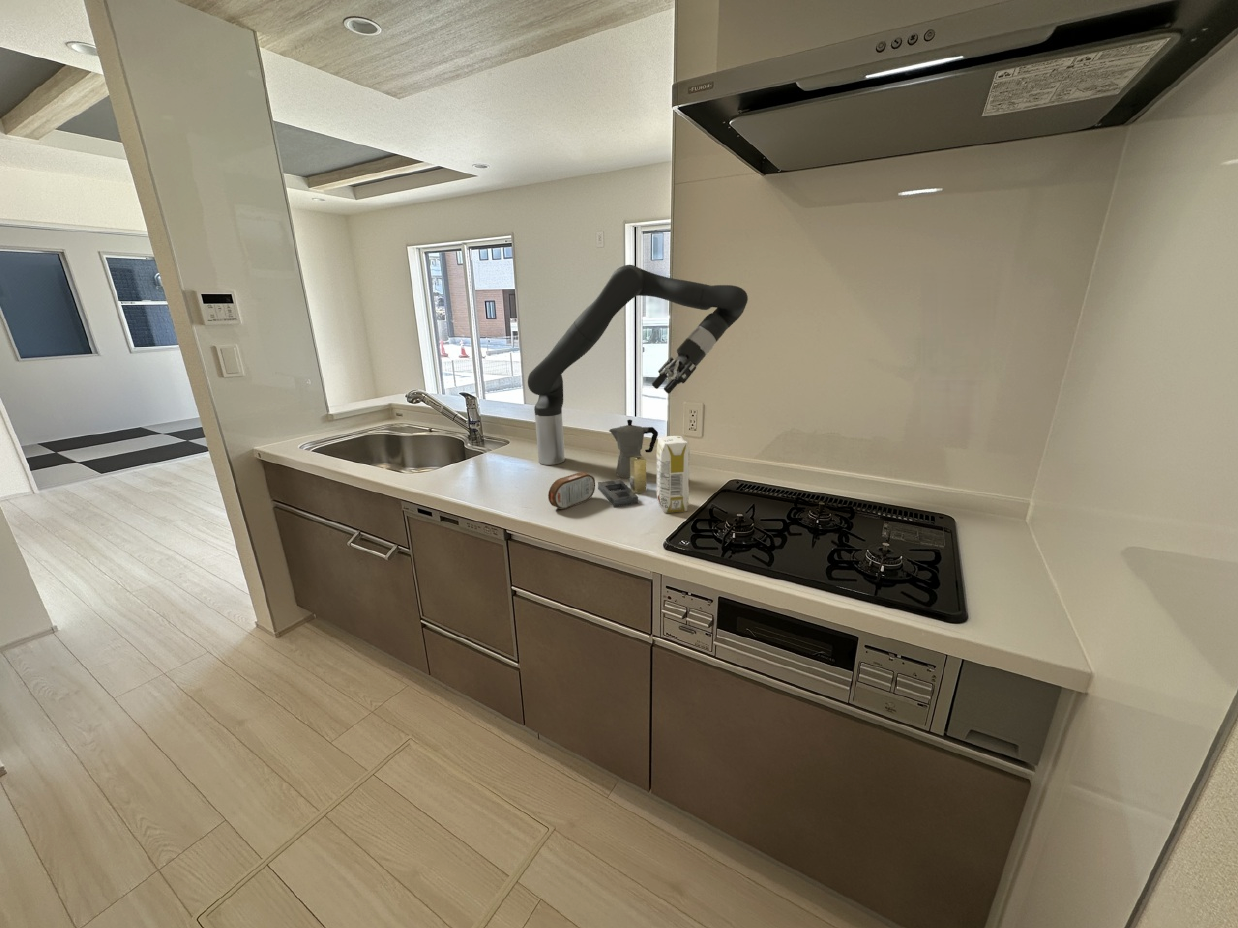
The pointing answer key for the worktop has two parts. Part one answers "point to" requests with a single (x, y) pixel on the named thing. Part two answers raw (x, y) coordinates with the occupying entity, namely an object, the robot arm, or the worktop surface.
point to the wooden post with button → (638, 474)
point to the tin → (571, 490)
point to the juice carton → (673, 473)
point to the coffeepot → (631, 444)
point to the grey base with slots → (618, 493)
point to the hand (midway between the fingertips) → (659, 389)
